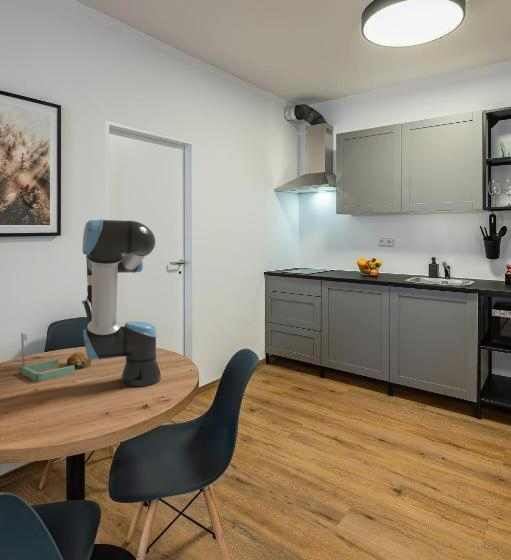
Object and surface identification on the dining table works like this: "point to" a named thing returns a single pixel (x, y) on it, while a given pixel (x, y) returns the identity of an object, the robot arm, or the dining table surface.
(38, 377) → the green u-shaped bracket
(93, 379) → the dining table surface
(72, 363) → the bread roll
